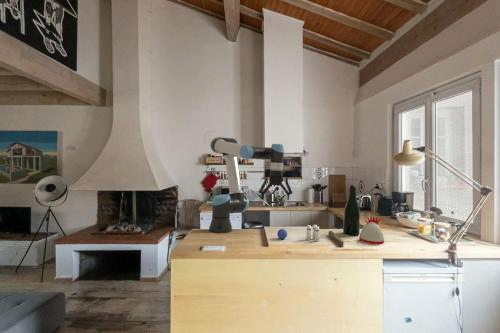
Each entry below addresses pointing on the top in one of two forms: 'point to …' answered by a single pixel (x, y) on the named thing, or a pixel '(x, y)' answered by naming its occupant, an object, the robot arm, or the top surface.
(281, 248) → the top surface
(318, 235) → the back right pin
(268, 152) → the robot arm
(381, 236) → the spiked dome hat
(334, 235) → the back wall
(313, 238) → the back left pin
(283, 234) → the ball
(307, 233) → the front pin
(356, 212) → the green wine bottle
